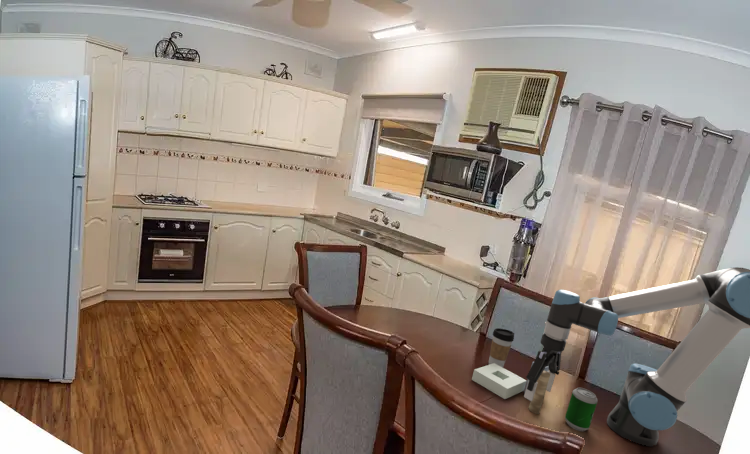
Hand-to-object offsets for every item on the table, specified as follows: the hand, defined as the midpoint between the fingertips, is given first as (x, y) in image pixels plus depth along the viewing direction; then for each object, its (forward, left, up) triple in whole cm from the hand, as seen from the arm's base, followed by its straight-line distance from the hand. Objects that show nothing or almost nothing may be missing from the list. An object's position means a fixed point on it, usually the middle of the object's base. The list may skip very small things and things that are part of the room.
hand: (537, 394), depth 147 cm
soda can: (-12, -6, -6) cm, 15 cm away
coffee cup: (+26, -18, -6) cm, 32 cm away
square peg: (+6, -11, -6) cm, 14 cm away
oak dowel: (0, 0, -6) cm, 6 cm away
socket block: (+16, -3, -6) cm, 17 cm away
